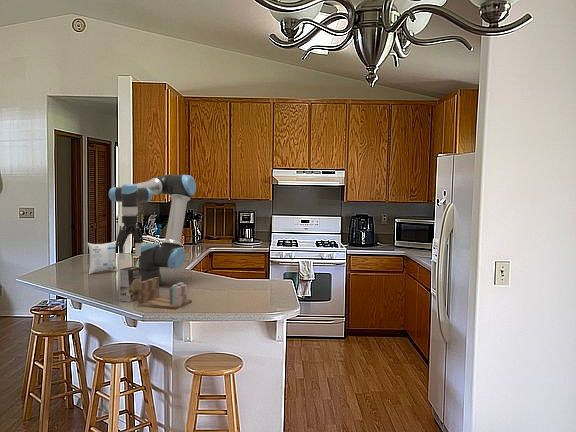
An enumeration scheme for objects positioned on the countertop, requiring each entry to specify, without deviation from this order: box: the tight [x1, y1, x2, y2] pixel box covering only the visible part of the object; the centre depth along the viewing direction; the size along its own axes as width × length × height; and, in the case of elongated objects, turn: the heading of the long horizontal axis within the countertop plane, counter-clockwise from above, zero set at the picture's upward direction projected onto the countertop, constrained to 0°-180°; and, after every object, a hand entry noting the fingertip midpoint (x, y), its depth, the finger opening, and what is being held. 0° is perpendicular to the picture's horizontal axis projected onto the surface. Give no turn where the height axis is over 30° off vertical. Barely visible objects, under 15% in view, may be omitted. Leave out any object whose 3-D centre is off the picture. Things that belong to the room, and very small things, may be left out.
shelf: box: [138, 277, 193, 310], centre depth 267 cm, size 16×20×11 cm
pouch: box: [86, 240, 118, 275], centre depth 347 cm, size 8×19×20 cm, turn 128°
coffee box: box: [119, 266, 141, 303], centre depth 275 cm, size 9×6×16 cm
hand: (130, 257), depth 274 cm, fingers open, 13 cm apart
